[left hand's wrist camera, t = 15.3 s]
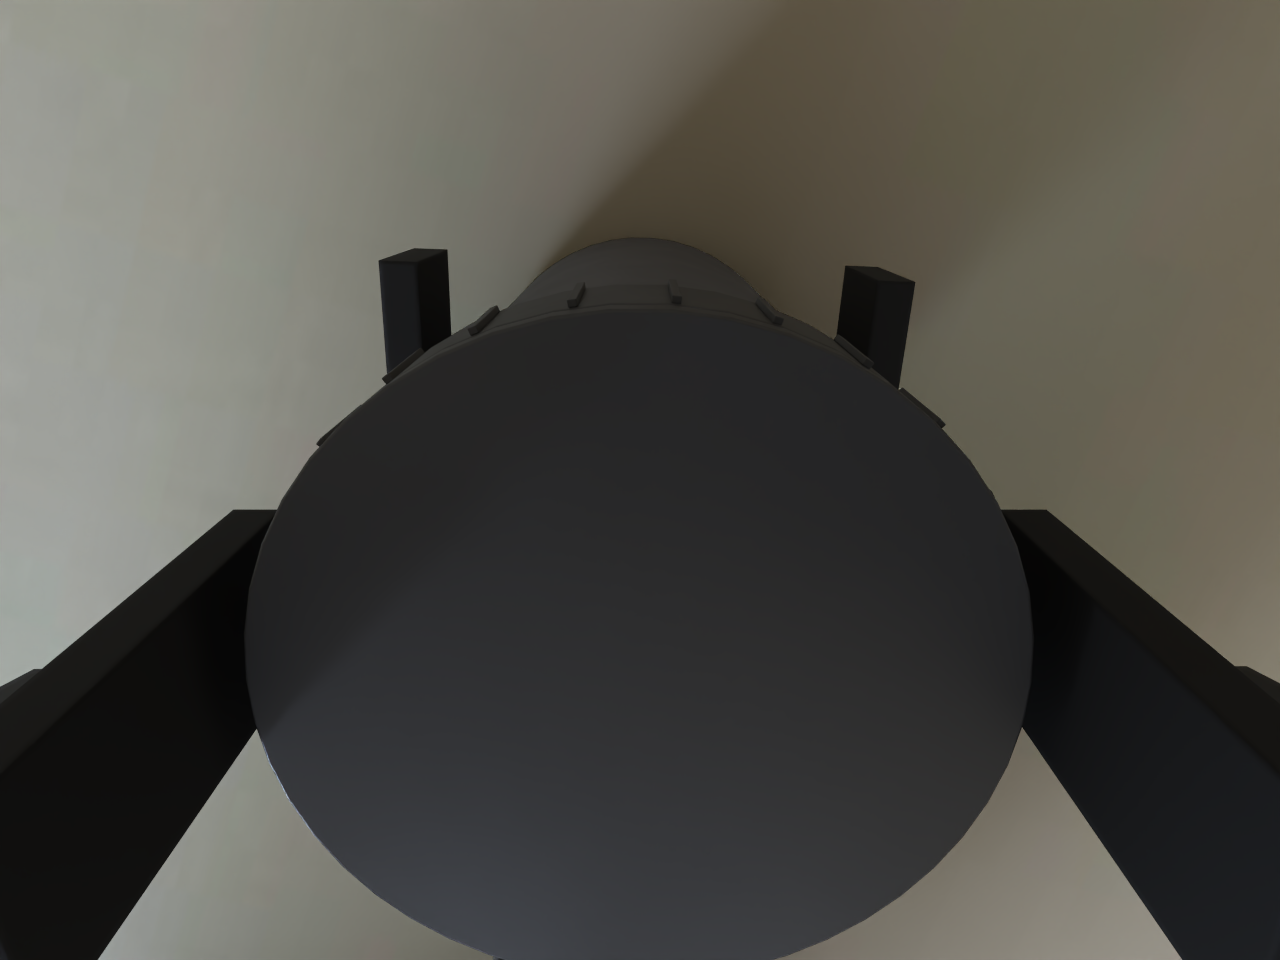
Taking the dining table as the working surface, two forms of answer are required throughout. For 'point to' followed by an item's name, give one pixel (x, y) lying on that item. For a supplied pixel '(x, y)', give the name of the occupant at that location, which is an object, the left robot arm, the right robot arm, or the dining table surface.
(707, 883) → the lid
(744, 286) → the jar
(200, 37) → the dining table surface
